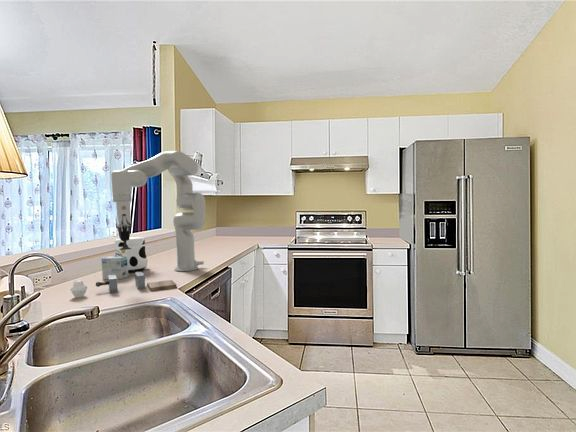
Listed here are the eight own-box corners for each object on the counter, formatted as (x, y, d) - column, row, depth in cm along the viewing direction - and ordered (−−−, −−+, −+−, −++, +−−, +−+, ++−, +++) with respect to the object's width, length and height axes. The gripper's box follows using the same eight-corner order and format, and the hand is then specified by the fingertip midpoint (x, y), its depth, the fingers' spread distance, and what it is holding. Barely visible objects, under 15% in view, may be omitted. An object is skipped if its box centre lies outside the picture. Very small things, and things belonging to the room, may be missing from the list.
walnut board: (171, 283, 180) (171, 279, 180) (176, 287, 170) (176, 284, 170) (147, 286, 175) (147, 283, 174) (150, 291, 165) (150, 287, 165)
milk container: (107, 273, 208) (105, 240, 207) (127, 267, 225) (125, 236, 224) (135, 274, 204) (134, 240, 203) (154, 267, 221) (152, 236, 220)
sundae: (117, 250, 166) (115, 216, 165) (116, 248, 172) (114, 215, 171) (134, 249, 169) (132, 215, 168) (132, 247, 175) (130, 214, 174)
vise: (142, 284, 179) (141, 271, 178) (145, 288, 170) (144, 275, 170) (95, 290, 170) (95, 276, 170) (96, 295, 161) (95, 281, 161)
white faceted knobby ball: (72, 299, 155) (70, 282, 155) (70, 296, 160) (68, 280, 160) (89, 296, 159) (88, 280, 158) (86, 294, 164) (85, 277, 163)
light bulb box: (128, 276, 199) (127, 255, 199) (122, 279, 193) (121, 257, 192) (109, 276, 200) (108, 255, 200) (102, 279, 194) (100, 258, 193)
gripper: (133, 198, 163) (135, 240, 164) (129, 198, 178) (132, 237, 179) (113, 199, 160) (116, 242, 161) (111, 198, 175) (114, 238, 176)
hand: (124, 239), depth 170 cm, fingers closed on sundae, 4 cm apart
